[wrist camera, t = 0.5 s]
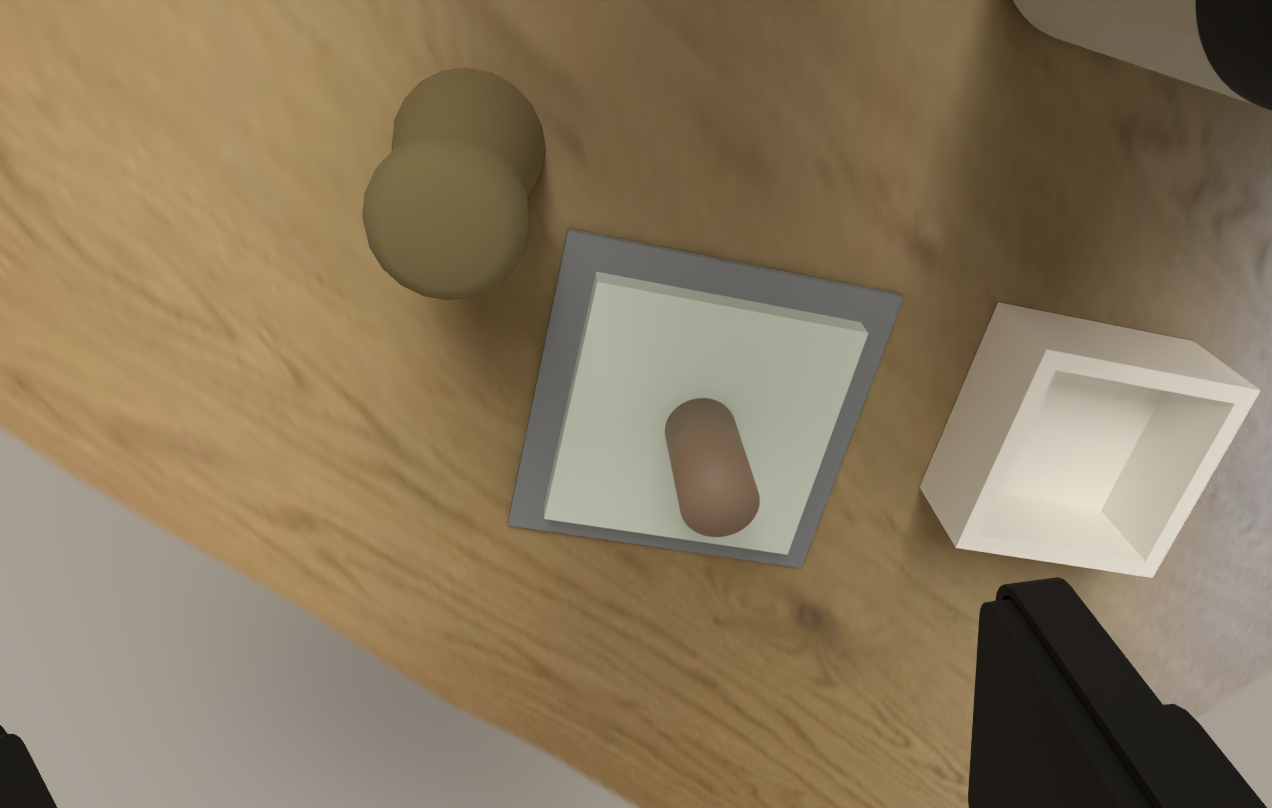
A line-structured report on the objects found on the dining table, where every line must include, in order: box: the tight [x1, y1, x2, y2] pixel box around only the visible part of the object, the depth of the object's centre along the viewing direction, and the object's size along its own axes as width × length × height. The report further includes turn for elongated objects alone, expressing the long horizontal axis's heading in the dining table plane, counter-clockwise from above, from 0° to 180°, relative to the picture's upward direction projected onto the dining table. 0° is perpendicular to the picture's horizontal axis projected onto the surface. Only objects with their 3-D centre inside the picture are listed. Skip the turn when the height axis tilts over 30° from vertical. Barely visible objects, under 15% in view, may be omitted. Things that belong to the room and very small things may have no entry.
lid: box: [544, 272, 868, 555], centre depth 43 cm, size 12×12×7 cm
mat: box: [508, 228, 904, 568], centre depth 46 cm, size 15×15×1 cm
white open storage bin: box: [920, 302, 1261, 578], centre depth 45 cm, size 10×10×5 cm
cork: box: [363, 68, 545, 300], centre depth 35 cm, size 6×6×11 cm
